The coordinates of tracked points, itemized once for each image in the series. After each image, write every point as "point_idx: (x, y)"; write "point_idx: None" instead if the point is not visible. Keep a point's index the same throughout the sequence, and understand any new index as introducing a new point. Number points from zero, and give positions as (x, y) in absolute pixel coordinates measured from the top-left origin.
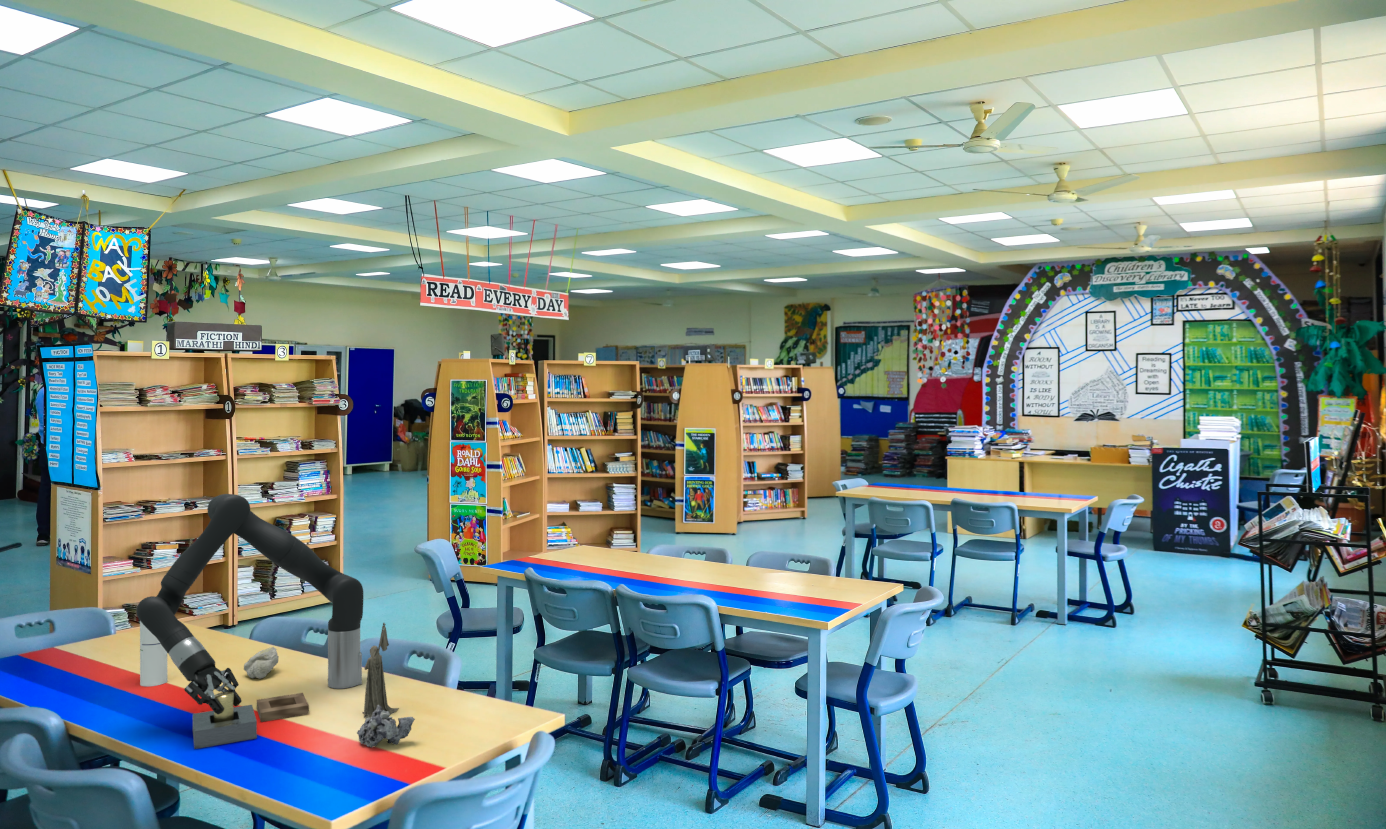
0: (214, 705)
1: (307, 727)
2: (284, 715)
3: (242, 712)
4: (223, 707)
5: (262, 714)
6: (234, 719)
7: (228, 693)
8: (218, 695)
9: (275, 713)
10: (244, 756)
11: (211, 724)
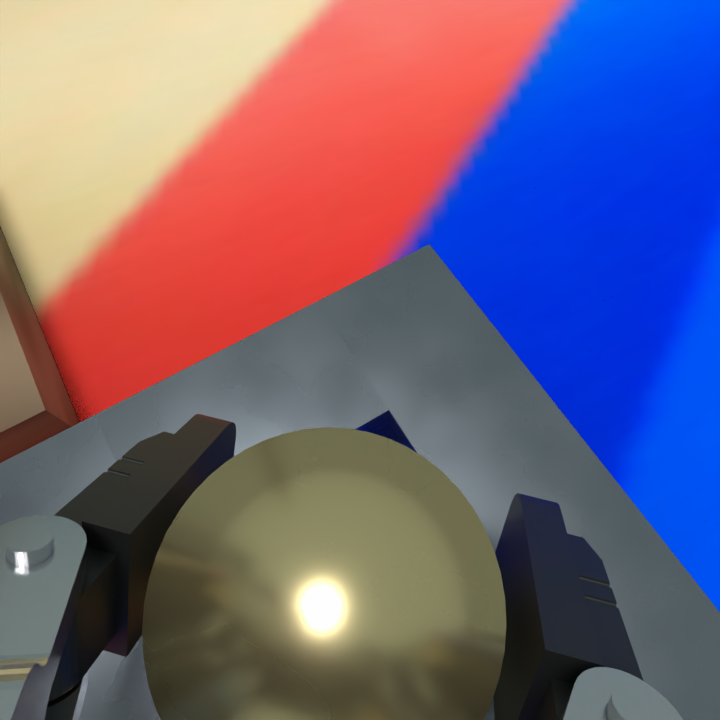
0: (613, 619)
1: (230, 125)
2: (21, 294)
3: None
4: (523, 501)
5: (49, 405)
6: None
7: (249, 544)
8: (372, 702)
9: (25, 329)
10: (704, 260)
11: None
